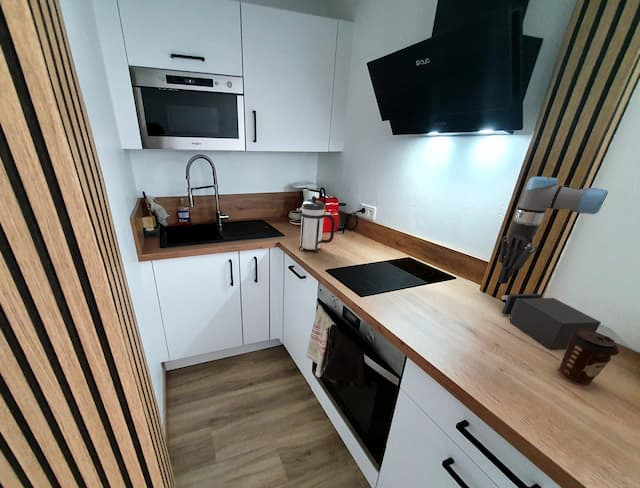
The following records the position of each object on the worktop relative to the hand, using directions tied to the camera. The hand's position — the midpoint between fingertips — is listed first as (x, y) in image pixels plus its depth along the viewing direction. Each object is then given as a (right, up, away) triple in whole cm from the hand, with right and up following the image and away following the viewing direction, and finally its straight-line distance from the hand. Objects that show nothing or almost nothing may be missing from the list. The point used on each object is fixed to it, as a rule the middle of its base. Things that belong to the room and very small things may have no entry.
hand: (502, 282), depth 110 cm
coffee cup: (-7, -24, -33) cm, 42 cm away
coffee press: (-67, +17, +55) cm, 88 cm away
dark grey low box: (+2, -16, -16) cm, 23 cm away
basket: (+1, -13, -9) cm, 16 cm away
